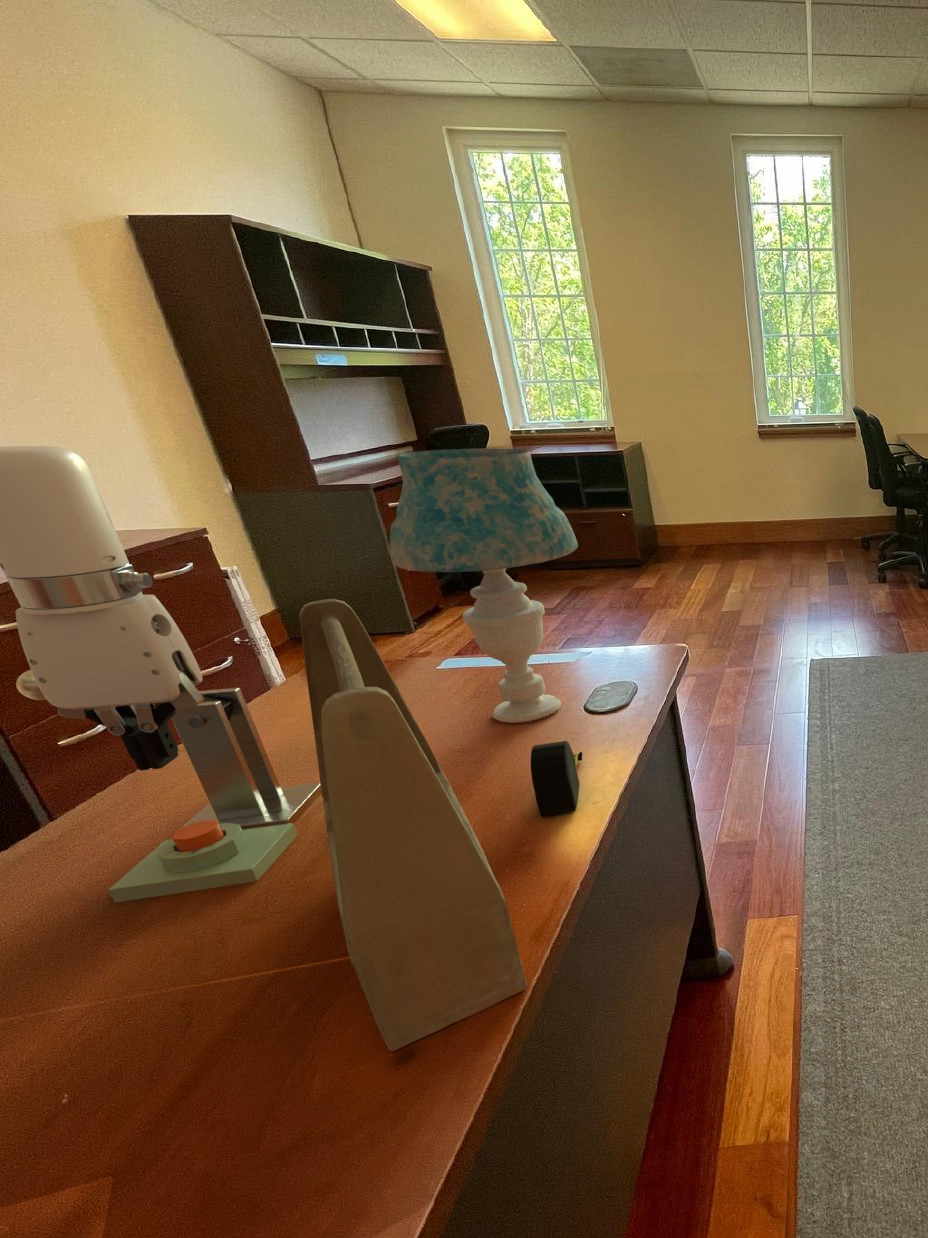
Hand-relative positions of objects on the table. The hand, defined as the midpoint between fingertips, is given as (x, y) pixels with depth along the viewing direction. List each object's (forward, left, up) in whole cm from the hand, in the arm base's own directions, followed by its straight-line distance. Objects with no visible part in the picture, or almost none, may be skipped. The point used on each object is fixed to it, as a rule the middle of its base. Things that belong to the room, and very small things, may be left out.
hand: (159, 763), depth 73 cm
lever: (-8, +11, +2) cm, 14 cm away
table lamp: (+25, +35, -13) cm, 45 cm away
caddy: (+26, -18, -13) cm, 35 cm away
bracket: (-1, +11, -13) cm, 17 cm away
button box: (0, 0, -13) cm, 13 cm away
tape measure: (+34, +7, -13) cm, 37 cm away
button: (0, 0, -10) cm, 10 cm away
